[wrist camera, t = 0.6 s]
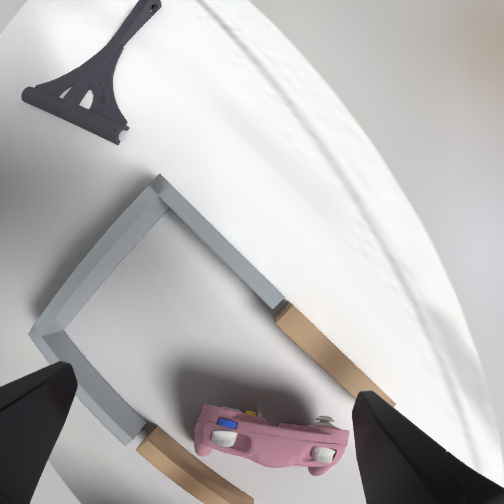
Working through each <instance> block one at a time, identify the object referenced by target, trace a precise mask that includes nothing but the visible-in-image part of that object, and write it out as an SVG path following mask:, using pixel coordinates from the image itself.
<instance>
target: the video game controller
mask: <svg viewBox="0 0 504 504" xmlns="http://www.w3.org/2000/svg"><path fill="white" fill-rule="evenodd" d="M316 420H321V421H320V422H317V423H314V424H311V425H307V426H302V425H294V424H286V423H279V426H278V427H276V426H269V425H265V422H266V420H265V419H262V418H258V417H256V413H255V412H253V411H245V414H244V413H243V412H241V411H240V410H237V409H233V408H229V407H225V406H221V407H215V406H210V405H203V408H202V411H201V415H200V417H199V418H198V420H197V421H196V423H195V427H194V447H195V452H196V453H197V454H198V455H199V456H206V455H208V454H209V453H210V452H211V451H212V449H213V448H214V449H216V450H219V451H222V452H225V453H229V454H233V455H237V456H241V457H245V458H248V459H250V460H252V461H254V462H256V463H258V464H261V465H263V466H266V467H272V468H278V467H288V466H308V470H309V472H310V474H311V475H313V476H319V475H322V474H323V473H325V472H326V471H327V470H328V469H329V468H330V467H332V466H333V465H335V464H336V463H337V462H338V461H339V460H340V458H341V457H342V454H343V452H344V450H345V447H346V446H347V442H348V436H349V431H347V430H341V429H339V428H337V427H334V426H333V425H332V424H330V423H329V421H332V422H334V420H333V419H332V418H330V417H327V416H320V417H318V418H316Z"/></svg>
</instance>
